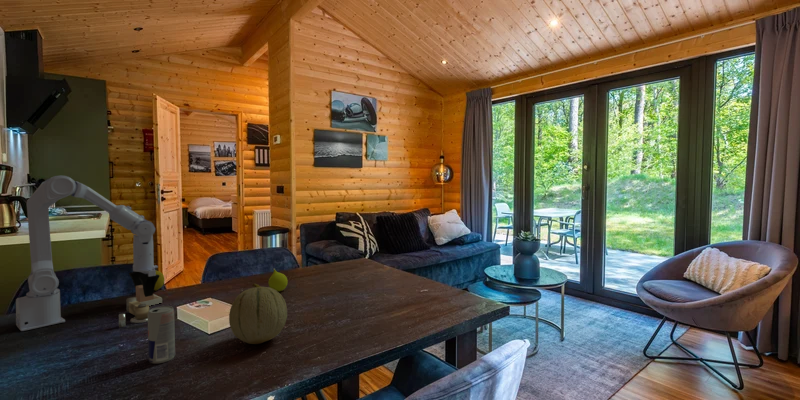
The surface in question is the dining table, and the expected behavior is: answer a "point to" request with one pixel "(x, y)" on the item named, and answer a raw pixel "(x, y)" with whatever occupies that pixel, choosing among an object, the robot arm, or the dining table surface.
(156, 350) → the energy drink
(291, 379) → the dining table surface
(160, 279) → the lemon
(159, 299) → the tray
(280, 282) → the green fig
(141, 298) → the block
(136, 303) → the crank arm
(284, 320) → the cantaloupe
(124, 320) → the crank base
